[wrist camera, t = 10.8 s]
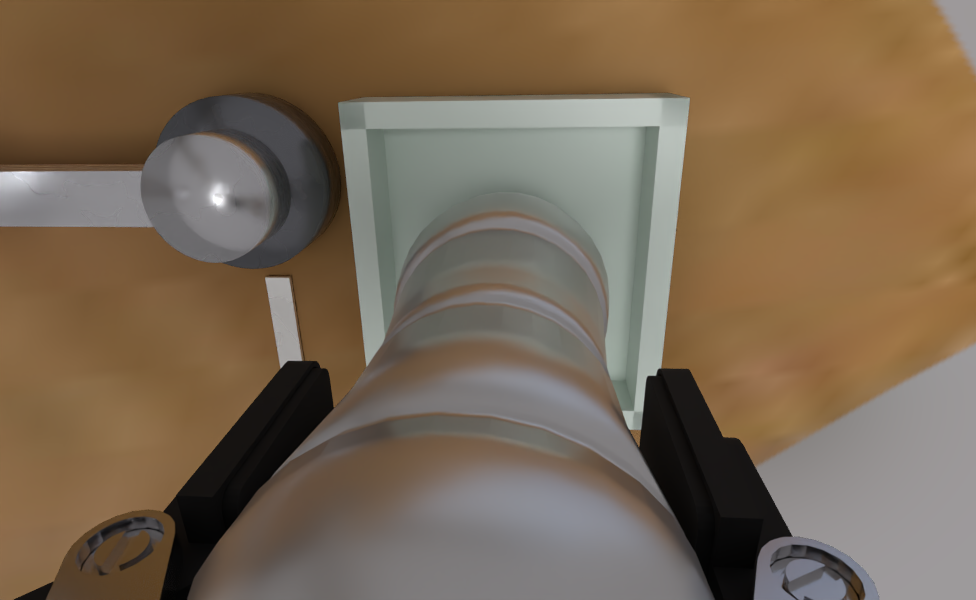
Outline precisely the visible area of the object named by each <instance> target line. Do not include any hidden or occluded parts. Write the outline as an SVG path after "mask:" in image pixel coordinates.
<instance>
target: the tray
mask: <svg viewBox="0 0 976 600" xmlns="http://www.w3.org/2000/svg"><path fill="white" fill-rule="evenodd" d="M689 103H690V98H689V97H684V96H680V95H676V94H671V93H629V94H558V95H486V96H414V97H363V98H358V99H353V100H348V101H343V102H338V108H339V117H340V126H341V135H342V145H343V154H344V163H345V173H346V182H347V191H348V200H349V210H350V219H351V228H352V237H353V247H354V256H355V265H356V275H357V284H358V293H359V302H360V312H361V321H362V330H363V340H364V349H365V358H366V367H367V366H368V364H369V363H370V361H371V360H372V358H373V357H374V355H375V354H376V352H377V351H378V349H379V348H380V346H381V345H382V343H383V342H384V339H385V336H386V333H387V331H388V328H389V325H390V322H391V319H392V316H393V314H394V302H395V296H396V291H397V285H398V281H399V277H400V273H401V269H402V267H403V264H404V262H405V259H406V257H407V254H408V252H409V249H410V248H411V246H412V245H413V243H414V242H415V240H416V239H417V237H418V236H419V234H420V233H421V232H422V231H423V230H424V229H425V228H426V227H427V226H428V225H429V224H430V223H431V222H432V221H433V220H434V219H435V218H436V217H437V216H439V215H440V214H442V213H443V212H445V211H446V210H448V209H449V208H451V207H452V206H454V205H457V204H459V203H462V202H464V201H467V200H469V199H472V198H474V197H477V196H480V195H485V194H491V193H497V192H514V193H522V194H526V195H531V196H535V197H538V198H540V199H542V200H545V201H547V202H549V203H551V204H553V205H555V206H556V207H558V208H560V209H561V210H562V211H564V212H565V213H566V214H568V215H569V216H570V217H572V218H573V219H574V220H576V221H577V222H578V223H579V224H580V225H581V227H582V228H583V229H584V230H585V231H586V232H587V233H588V235H589V236H590V237H591V238H592V240H593V242H594V244H595V245H596V247H597V249H598V251H599V253H600V254H601V256H602V260H603V263H604V266H605V269H606V273H607V277H608V288H609V317H608V325H607V333H606V337H605V347H606V360H607V369H608V372H609V375H610V378H611V381H612V383H613V386H614V389H615V392H616V395H617V398H618V401H619V404H620V406H621V409H622V412H623V415H624V418H625V421H626V424H627V426H628V428H629V430H641V426H642V416H643V406H644V396H645V385H646V379H647V376H656V373H657V370H658V369H659V368H661V364H662V355H663V345H664V336H665V327H666V317H667V308H668V299H669V289H670V280H671V271H672V261H673V252H674V243H675V233H676V224H677V215H678V205H679V196H680V187H681V177H682V168H683V159H684V149H685V140H686V131H687V121H688V112H689Z"/></svg>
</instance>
